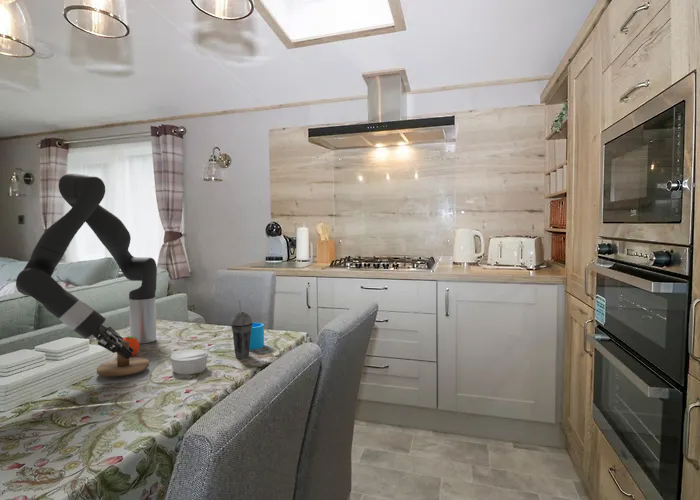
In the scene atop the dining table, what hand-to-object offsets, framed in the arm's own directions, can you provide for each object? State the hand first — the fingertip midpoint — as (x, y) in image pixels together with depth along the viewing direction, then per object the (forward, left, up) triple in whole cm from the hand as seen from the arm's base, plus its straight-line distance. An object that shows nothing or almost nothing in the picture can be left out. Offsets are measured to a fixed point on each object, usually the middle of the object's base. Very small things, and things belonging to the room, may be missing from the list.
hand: (130, 354), depth 125 cm
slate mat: (+1, -2, -6) cm, 6 cm away
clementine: (-18, -5, -6) cm, 20 cm away
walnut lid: (0, -2, -4) cm, 5 cm away
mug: (-22, +37, -6) cm, 44 cm away
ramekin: (+2, +17, -6) cm, 18 cm away
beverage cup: (-8, +33, -6) cm, 35 cm away
